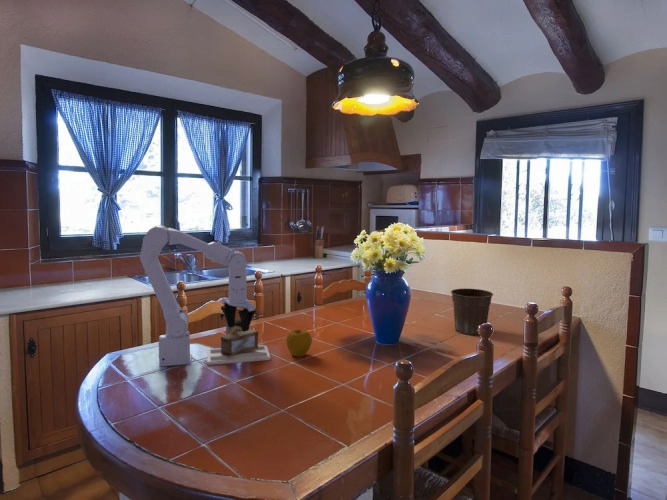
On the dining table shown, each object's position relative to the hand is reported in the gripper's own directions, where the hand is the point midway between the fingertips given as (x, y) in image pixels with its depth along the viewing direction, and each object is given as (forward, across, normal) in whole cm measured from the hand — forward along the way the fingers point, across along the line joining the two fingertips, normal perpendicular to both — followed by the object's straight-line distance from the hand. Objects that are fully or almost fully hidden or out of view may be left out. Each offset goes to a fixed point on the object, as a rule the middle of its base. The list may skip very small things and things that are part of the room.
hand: (238, 328), depth 148 cm
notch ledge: (+10, 0, 0) cm, 10 cm away
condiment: (+5, +13, -9) cm, 16 cm away
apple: (+10, -14, -15) cm, 22 cm away
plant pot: (+10, -46, -81) cm, 94 cm away
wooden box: (+8, -1, 0) cm, 8 cm away
